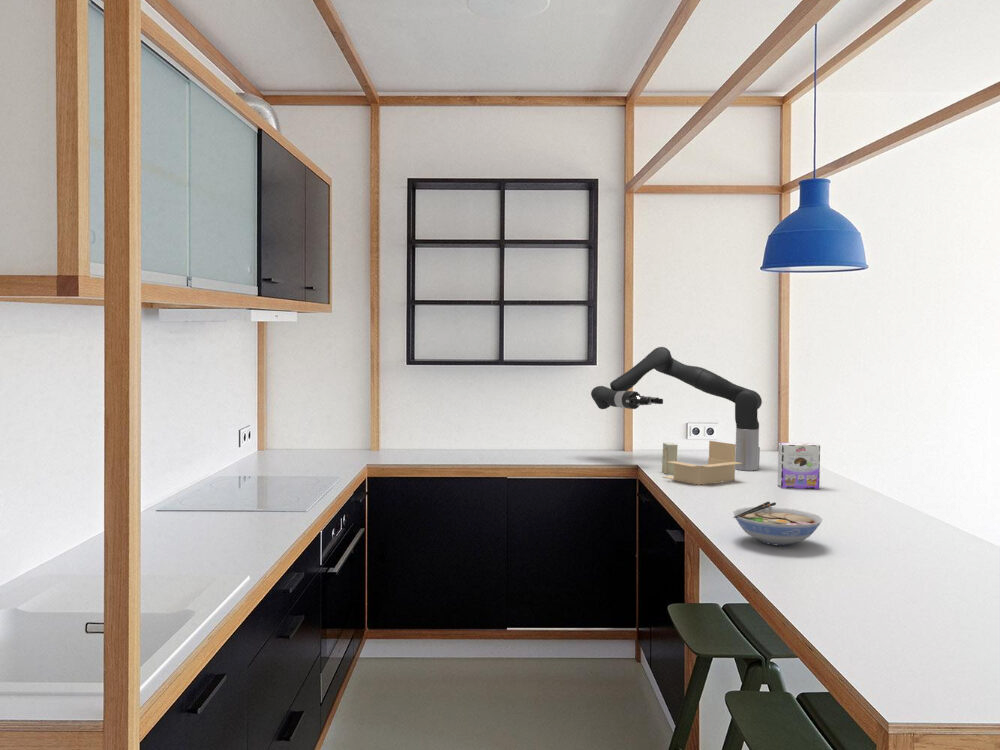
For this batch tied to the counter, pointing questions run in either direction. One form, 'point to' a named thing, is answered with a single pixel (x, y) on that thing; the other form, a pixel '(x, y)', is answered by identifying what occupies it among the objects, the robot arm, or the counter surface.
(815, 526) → the ramen bowl
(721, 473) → the carton
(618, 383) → the robot arm
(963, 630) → the counter surface
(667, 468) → the skincare box
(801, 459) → the candy box
